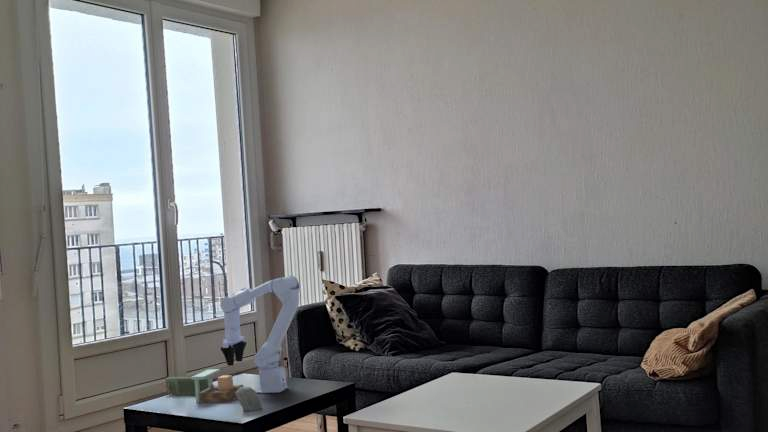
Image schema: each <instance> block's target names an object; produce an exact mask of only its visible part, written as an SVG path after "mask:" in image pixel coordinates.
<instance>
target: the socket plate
mask: <svg viewBox="0 0 768 432" xmlns="http://www.w3.org/2000/svg"><path fill="white" fill-rule="evenodd" d="M213 385H214V384H213ZM241 386H242V387H244V384H233V389H231V390H223V391H219V390H218V384H216V385H214V386H212V387H210V388H208V389H206V390H204V391H202V392H200V393H198V394H199V402H198V403H199V404H202V403H206V404H207V403H230V402H232V401H234V400H235V399H238V398H237V396H236V394H235V392H236V391H237V390H238V388H240V387H241Z"/></svg>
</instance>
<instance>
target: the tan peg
mask: <svg viewBox="0 0 768 432" xmlns="http://www.w3.org/2000/svg"><path fill="white" fill-rule="evenodd" d="M233 377H234V376H233V374H228V375H227V374H225V375H220V376H218V377H217V385H218V390H219V391H223V390H231V389H233V385H234V379H233Z"/></svg>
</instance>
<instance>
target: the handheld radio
mask: <svg viewBox="0 0 768 432" xmlns="http://www.w3.org/2000/svg"><path fill="white" fill-rule="evenodd" d="M191 377H192V376H168V377H166V378H165V385H166V386H165V387H166V394H167V395H174V394H176V395H183V396H184V395H196V393H195V382H194V380H192V379H191ZM213 377H214V375H212V382H213V381H214V380H213ZM199 386H200V392H202V391H204V390H206V389H208V378H206V379H199ZM213 386H214V384H213Z"/></svg>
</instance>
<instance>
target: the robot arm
mask: <svg viewBox="0 0 768 432" xmlns="http://www.w3.org/2000/svg"><path fill="white" fill-rule="evenodd" d="M300 289H301V285H300V283H299V280H298V278H296V277H295V276H294V275H288V276H284V277H278V278H275V279H272V280H271V279H270V280H268V281H266V282H264V283H262V284H260V285H258V286H256V287H254V288H249V287H248V288H246V287H244V288H243V287H242V288H241V289H240V291H238V292H232V293H231V295H230V296H224V298H222V299H221V301H220V304H219V305H220V309H221V310H222V311H223V318H224V319H223V320H224V332H225V339H223V340H222V347H220V351H221V353H222V354H223V356H224V358H225V361H226V365H227V366H232V367H233V366H234V363H235V361H236V362H243V358H244V351H245V348H246V347H247V341H245V336H244V335H242V334H241V322H240V320H241V319H240V318H241V316H240V313H241V309H242V308H243V307H245V306H247V305H250V304H252V303H254V302H255V301H256V298H258V297H259V296H262V295H264V294H267V293H269V292H270V293H274V294H275V295H276V297H277V299H279V301H280V302H281V304H282V307H281V309H280V311H279V313H278V314H277V318H276V320H275V322H274V324H273V326H272V329H271V331H270V333H269V335H268V338H267V340H266V342H264V344H263V345H262V346H261V347H260V349H259V350H258V352H256V353H255V354H254V359H253V361H254V363H255V365H256V366H257V369H258V373H259V374H258V375H259V384H260V386H259V387H260V389H259V390H257V391H256V392H257V394H269V393H274V394H275V393H281V392H283V391H285V390H286V389H288V388H289V387H288V383H287V373H286V368H285V367H284V366H279V362H280V360H281V357H282V351H283V347H282V343H283V342H284V338H285V336H286V335H287V331H288V329H289V328H290V325H291V323H292V320H293V319H294V317H295V314H296V312H297V310H298V309H299V305H300Z"/></svg>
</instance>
